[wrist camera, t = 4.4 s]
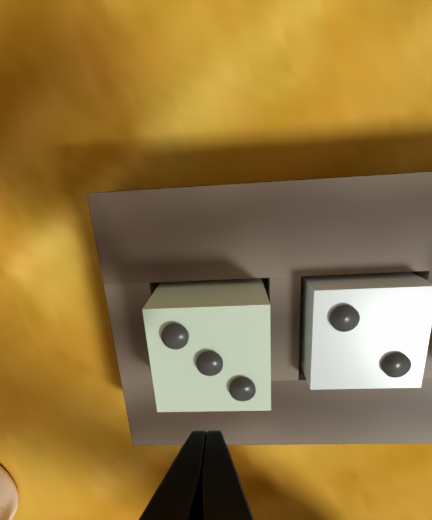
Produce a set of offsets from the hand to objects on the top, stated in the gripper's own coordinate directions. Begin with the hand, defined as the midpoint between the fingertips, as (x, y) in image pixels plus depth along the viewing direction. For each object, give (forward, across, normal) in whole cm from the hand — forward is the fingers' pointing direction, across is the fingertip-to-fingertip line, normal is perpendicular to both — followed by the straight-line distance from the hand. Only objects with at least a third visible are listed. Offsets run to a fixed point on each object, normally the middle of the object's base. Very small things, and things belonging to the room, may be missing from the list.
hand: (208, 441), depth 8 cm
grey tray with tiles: (+9, -7, 0) cm, 11 cm away
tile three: (+7, 0, 0) cm, 7 cm away
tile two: (+8, -7, 0) cm, 10 cm away
